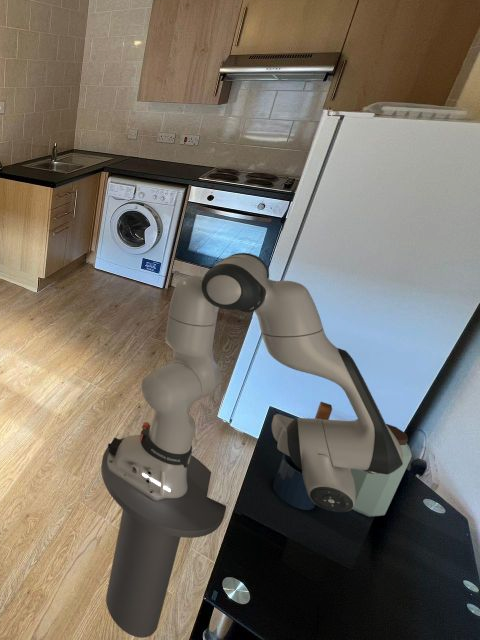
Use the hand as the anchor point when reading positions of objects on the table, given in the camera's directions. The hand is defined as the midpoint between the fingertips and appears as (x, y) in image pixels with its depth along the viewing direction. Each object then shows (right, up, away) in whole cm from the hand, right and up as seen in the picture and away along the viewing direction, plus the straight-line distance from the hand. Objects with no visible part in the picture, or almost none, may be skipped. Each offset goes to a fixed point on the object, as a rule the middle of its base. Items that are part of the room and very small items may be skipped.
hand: (318, 423), depth 108 cm
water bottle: (+16, -25, +5) cm, 30 cm away
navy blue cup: (-1, -23, +7) cm, 24 cm away
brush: (-1, -12, +3) cm, 13 cm away
